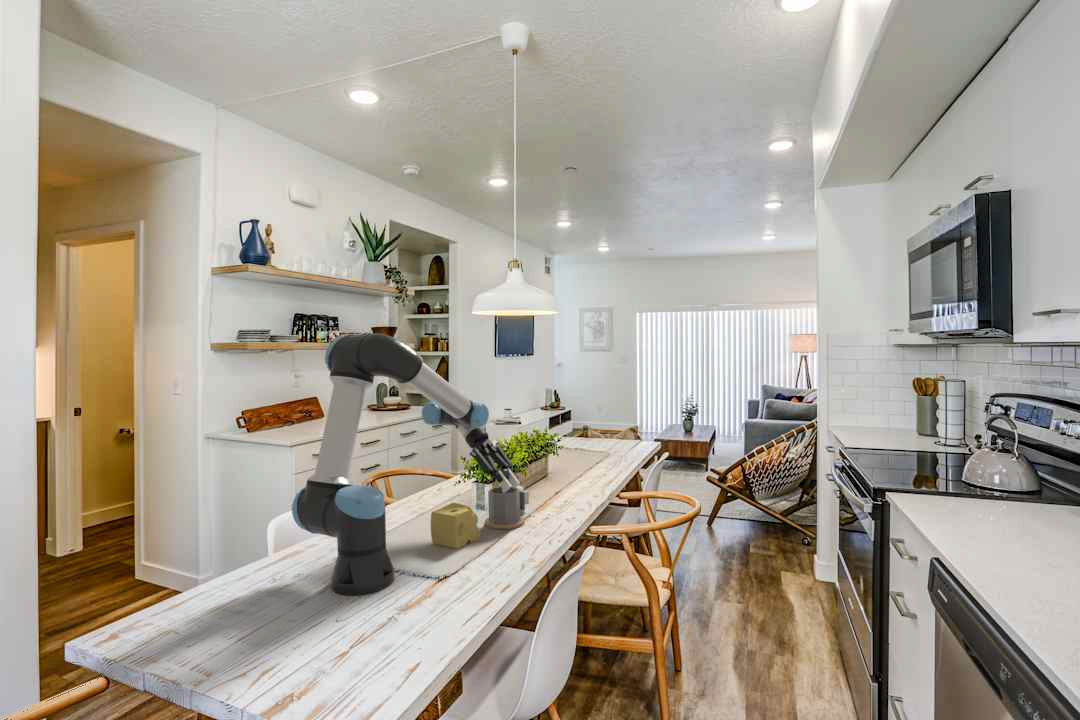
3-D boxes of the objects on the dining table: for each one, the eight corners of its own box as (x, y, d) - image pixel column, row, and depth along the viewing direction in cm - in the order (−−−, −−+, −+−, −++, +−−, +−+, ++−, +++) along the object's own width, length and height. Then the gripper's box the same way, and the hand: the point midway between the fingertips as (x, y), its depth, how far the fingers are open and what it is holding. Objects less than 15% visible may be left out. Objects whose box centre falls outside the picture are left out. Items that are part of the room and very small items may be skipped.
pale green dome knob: (533, 513, 195) (532, 487, 194) (508, 518, 190) (507, 491, 190) (523, 508, 201) (522, 483, 201) (498, 512, 197) (497, 487, 196)
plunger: (517, 518, 183) (516, 470, 183) (500, 522, 180) (498, 473, 180) (509, 513, 189) (507, 466, 188) (491, 516, 186) (490, 469, 185)
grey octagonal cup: (532, 524, 182) (531, 491, 182) (495, 532, 176) (494, 497, 175) (514, 514, 194) (513, 482, 193) (478, 521, 187) (477, 488, 187)
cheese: (479, 539, 171) (478, 506, 170) (456, 550, 161) (455, 516, 161) (453, 533, 176) (452, 502, 176) (429, 544, 167) (428, 511, 167)
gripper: (484, 436, 200) (522, 488, 190) (450, 444, 186) (490, 500, 177) (495, 422, 196) (534, 475, 187) (462, 429, 183) (502, 486, 174)
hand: (512, 487), depth 182 cm, fingers closed on plunger, 4 cm apart
